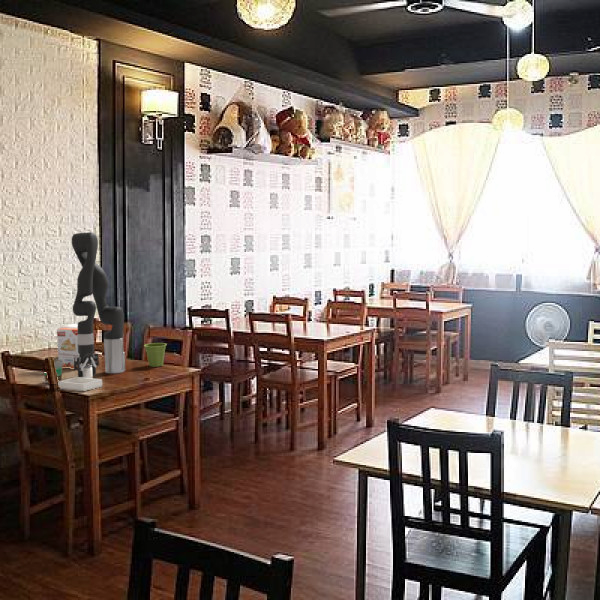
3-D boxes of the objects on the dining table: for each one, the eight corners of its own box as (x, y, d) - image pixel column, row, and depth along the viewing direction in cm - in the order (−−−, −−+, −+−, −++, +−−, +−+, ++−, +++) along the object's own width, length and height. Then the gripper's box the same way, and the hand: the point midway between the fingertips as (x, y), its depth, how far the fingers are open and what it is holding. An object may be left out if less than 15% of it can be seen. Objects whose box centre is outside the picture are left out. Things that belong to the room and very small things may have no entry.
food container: (56, 385, 363) (55, 363, 362) (44, 384, 364) (42, 363, 363) (68, 379, 375) (68, 359, 374) (57, 379, 376) (56, 359, 375)
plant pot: (141, 365, 411) (140, 344, 409) (163, 363, 416) (162, 342, 415) (148, 368, 400) (148, 347, 399) (170, 366, 406) (170, 345, 405)
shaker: (87, 380, 371) (86, 364, 371) (94, 381, 369) (94, 365, 369) (81, 382, 368) (80, 365, 367) (88, 383, 366) (87, 366, 365)
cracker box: (58, 368, 405) (56, 328, 403) (65, 366, 411) (63, 327, 409) (80, 370, 400) (78, 329, 398) (87, 367, 406) (85, 328, 404)
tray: (75, 384, 364) (75, 376, 364) (102, 386, 357) (102, 379, 357) (57, 389, 353) (56, 381, 353) (84, 392, 346) (83, 384, 346)
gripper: (90, 340, 375) (91, 373, 376) (68, 344, 362) (70, 379, 364) (102, 341, 371) (103, 375, 373) (81, 345, 359) (82, 380, 360)
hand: (87, 377), depth 368 cm, fingers open, 8 cm apart
